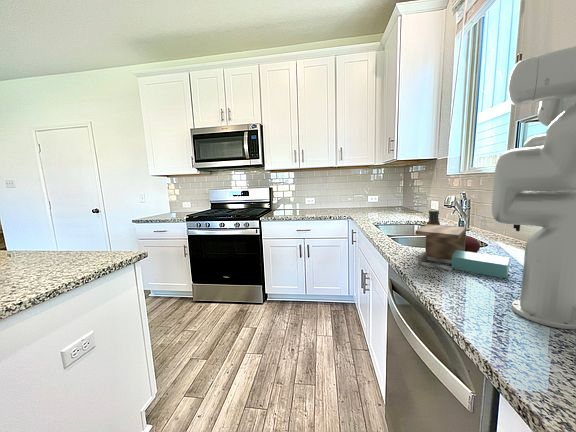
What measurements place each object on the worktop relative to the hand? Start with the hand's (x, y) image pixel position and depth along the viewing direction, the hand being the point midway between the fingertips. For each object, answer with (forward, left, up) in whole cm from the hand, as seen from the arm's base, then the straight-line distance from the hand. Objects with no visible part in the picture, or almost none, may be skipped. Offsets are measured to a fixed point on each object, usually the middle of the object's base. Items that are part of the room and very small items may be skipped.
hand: (537, 232), depth 81 cm
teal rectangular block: (+14, -1, -16) cm, 21 cm away
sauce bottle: (+33, -17, -16) cm, 41 cm away
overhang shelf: (+27, 0, -16) cm, 31 cm away
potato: (+21, -23, -17) cm, 36 cm away
